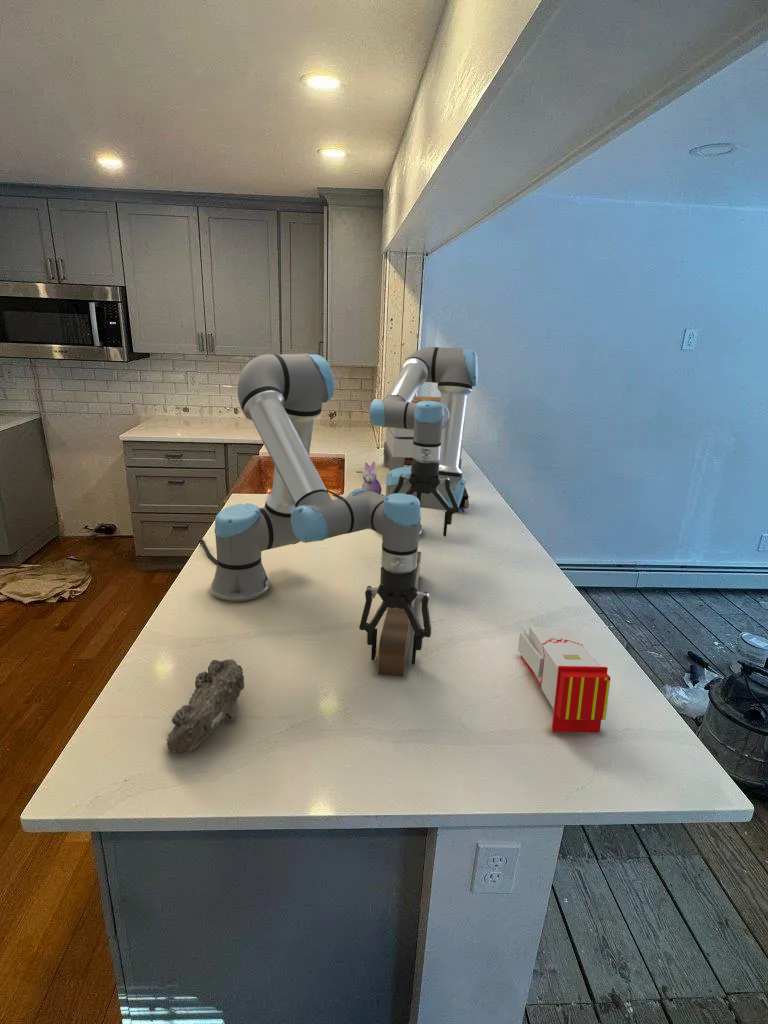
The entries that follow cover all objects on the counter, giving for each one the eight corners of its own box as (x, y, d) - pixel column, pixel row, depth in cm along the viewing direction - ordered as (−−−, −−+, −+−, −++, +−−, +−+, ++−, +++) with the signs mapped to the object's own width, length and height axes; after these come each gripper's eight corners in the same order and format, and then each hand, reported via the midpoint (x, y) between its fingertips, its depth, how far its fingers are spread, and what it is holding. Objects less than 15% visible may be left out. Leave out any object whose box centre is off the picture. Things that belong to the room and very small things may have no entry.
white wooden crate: (382, 463, 289) (386, 382, 275) (445, 464, 293) (451, 384, 279) (390, 482, 257) (394, 392, 243) (460, 483, 261) (468, 394, 247)
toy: (564, 611, 133) (619, 673, 103) (558, 664, 135) (611, 739, 106) (512, 610, 132) (554, 672, 103) (508, 663, 135) (547, 738, 106)
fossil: (192, 660, 117) (244, 628, 112) (224, 691, 120) (276, 661, 115) (142, 746, 98) (202, 712, 93) (182, 779, 101) (242, 748, 96)
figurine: (366, 502, 230) (367, 466, 225) (355, 494, 239) (356, 460, 234) (386, 499, 235) (388, 464, 229) (375, 492, 243) (377, 458, 238)
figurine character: (469, 517, 223) (463, 501, 236) (471, 500, 219) (465, 484, 233) (452, 516, 222) (447, 500, 236) (454, 499, 219) (449, 483, 232)
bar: (400, 574, 169) (402, 550, 167) (419, 576, 169) (421, 551, 166) (377, 674, 123) (379, 642, 120) (403, 677, 122) (405, 645, 120)
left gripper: (345, 570, 117) (343, 663, 124) (448, 579, 114) (440, 674, 122) (352, 555, 124) (350, 644, 131) (449, 564, 121) (441, 654, 129)
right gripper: (378, 460, 150) (375, 534, 157) (473, 466, 148) (465, 541, 155) (380, 453, 157) (377, 525, 164) (471, 459, 155) (464, 531, 163)
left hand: (393, 658), depth 127 cm, fingers open, 8 cm apart
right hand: (420, 533), depth 160 cm, fingers open, 13 cm apart
